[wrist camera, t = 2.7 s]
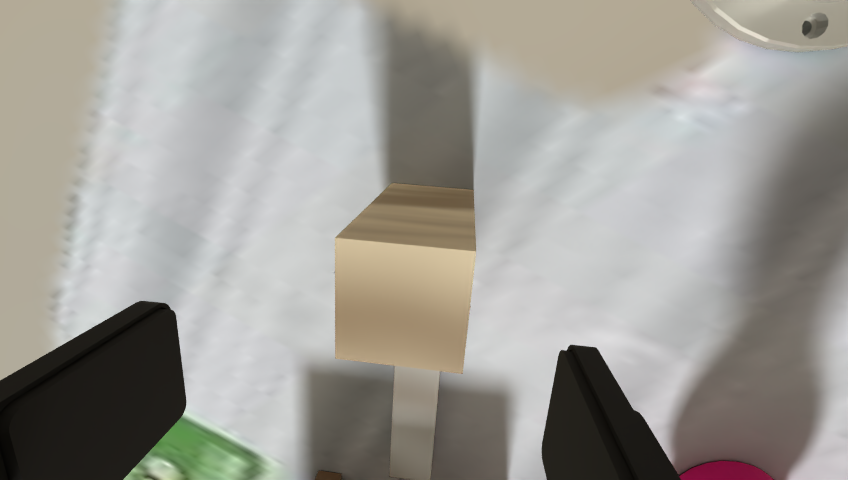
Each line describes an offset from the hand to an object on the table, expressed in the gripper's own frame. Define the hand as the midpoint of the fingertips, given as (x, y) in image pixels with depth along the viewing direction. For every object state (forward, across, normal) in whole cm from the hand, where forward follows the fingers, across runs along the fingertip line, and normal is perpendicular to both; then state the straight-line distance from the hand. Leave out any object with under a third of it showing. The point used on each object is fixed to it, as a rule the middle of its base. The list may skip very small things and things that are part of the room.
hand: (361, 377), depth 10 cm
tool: (+12, -1, +6) cm, 13 cm away
